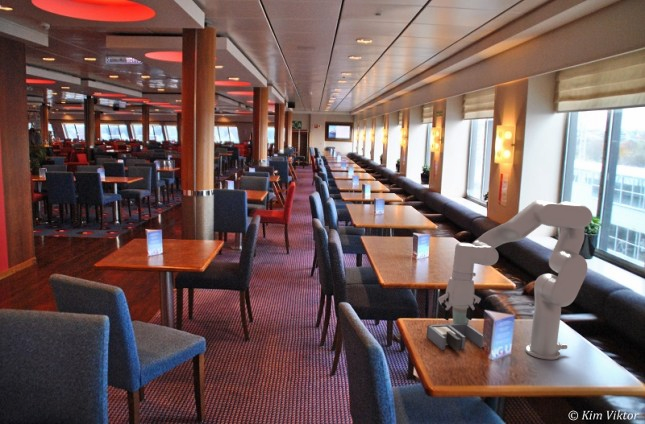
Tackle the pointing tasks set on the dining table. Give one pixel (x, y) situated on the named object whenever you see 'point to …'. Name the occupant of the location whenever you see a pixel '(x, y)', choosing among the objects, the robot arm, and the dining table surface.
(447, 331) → the cream block
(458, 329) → the lane rack
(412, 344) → the dining table surface
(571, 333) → the dining table surface
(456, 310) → the coffee cup
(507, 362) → the dining table surface
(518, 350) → the dining table surface
